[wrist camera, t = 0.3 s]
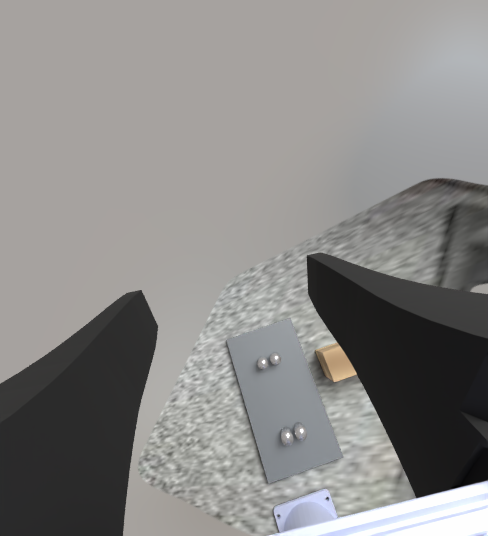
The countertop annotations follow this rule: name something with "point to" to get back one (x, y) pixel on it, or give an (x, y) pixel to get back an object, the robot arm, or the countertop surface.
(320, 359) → the board
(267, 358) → the flat gray rectangular plate
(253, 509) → the countertop surface
